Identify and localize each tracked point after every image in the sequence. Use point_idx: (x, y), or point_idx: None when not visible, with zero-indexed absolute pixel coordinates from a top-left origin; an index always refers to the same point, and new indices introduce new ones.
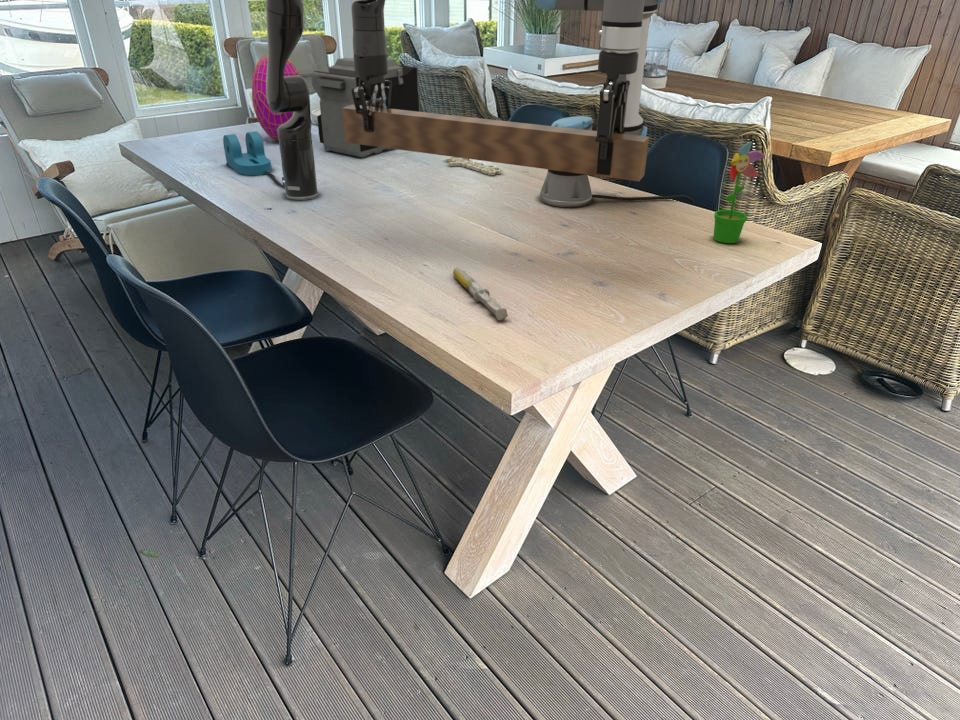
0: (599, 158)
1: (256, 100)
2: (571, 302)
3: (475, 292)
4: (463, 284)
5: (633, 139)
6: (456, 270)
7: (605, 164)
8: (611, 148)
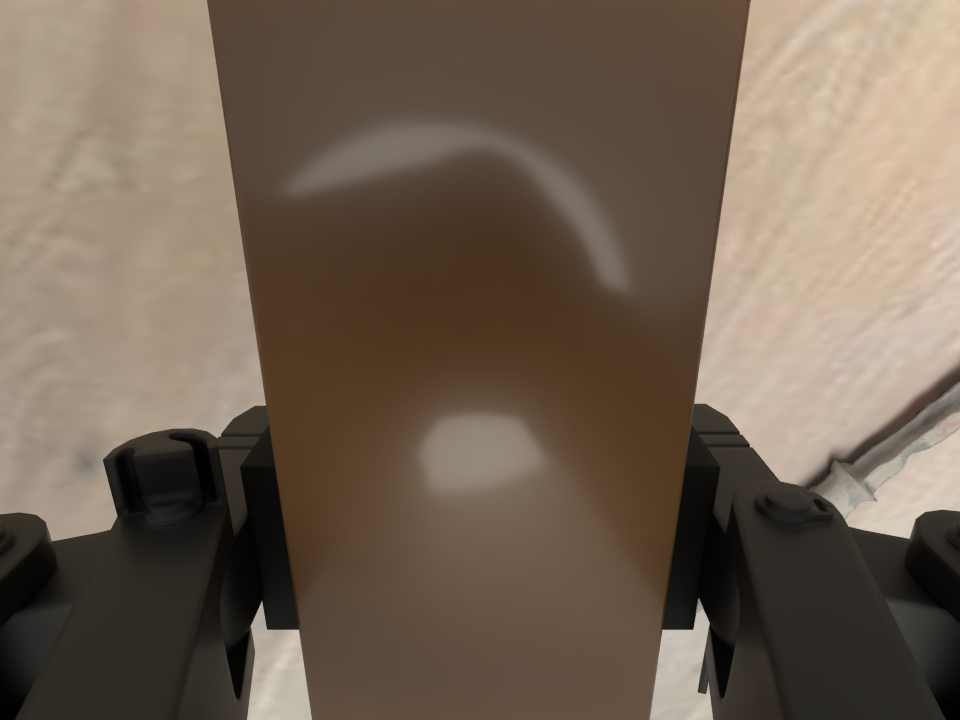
0: None
1: None
2: (770, 218)
3: (876, 501)
4: None
5: (631, 156)
6: None
7: None
8: (690, 432)
